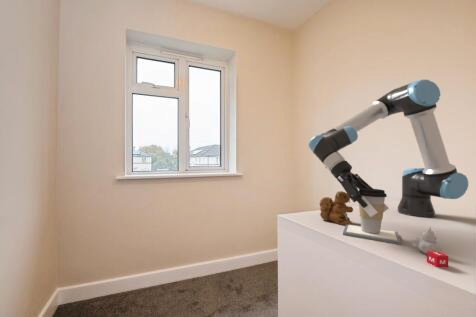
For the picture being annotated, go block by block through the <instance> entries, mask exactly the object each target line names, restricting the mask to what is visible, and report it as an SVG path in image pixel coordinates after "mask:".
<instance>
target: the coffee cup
mask: <svg viewBox="0 0 476 317" xmlns="http://www.w3.org/2000/svg"><path fill="white" fill-rule="evenodd" d="M358 191H359V192H360V194H361V196H362V197H364V198H365V199H366V200H367V201H368V202H369V203H370V204H371V205H372V206H373V207H374V209H375V210H376V211H377V212H378V213H376V214H375V215H373V216H372V217H370V216H369V215H368V214H367V212H366V211H365V210H364V209H363V208H362V207H361V206H360V204H359V203H358V206H359V210H358V211H359V217H360V226H361V229H362V231H364V232H368V233H380V229H381V227H382V221H383V218H384V212H383V211H384V203H385V200H386V198H387V197H388V196H387V193H386V192H385V190H384V189H378V188H373V189H370V188H360V189H358ZM362 197H361V198H362Z"/></svg>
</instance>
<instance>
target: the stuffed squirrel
mask: <svg viewBox="0 0 476 317" xmlns="http://www.w3.org/2000/svg"><path fill="white" fill-rule="evenodd" d="M350 201H351V198H350V197H349V195H348V194H347V192H346V191H336V193H335V195H334V200H333V198H332V197H327V196H326V197H325V196H324V197H322V199H320V201H319V210H320V213H319V216H320V217H321V219H322V220H323V221H326V222H333V223H334V224H337V225H341V226H346V224H347V225H352V223H351V222H350V220H351V219H350V217H349V216H348V213H353V211H354V208H353V206H350V205H349V206H348V205H347V203H350V204H351V202H350Z"/></svg>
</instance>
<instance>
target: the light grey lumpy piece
mask: <svg viewBox="0 0 476 317" xmlns="http://www.w3.org/2000/svg"><path fill="white" fill-rule="evenodd" d="M420 237H421V238H419V237H412V238H411V240H412V246H413V247H414V248H418V249H419V250H420V252H422V253H423V254H425V255H427V251H438V252H440V253H441V252H442V246H441V245H440V244H439V243H437V240H438V237H437V236H436V235H435V233H434V231H432V227H431V226H429V228H428V229H426V230H424V231H423V232H421V234H420Z"/></svg>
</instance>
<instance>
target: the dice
mask: <svg viewBox="0 0 476 317" xmlns="http://www.w3.org/2000/svg"><path fill="white" fill-rule="evenodd" d="M427 262H428V263H427ZM426 263H427V264H429V263H430V264H429V265H431V264H432V265H431V266H433V265H434V266H433V267H435V268H437V267H448V268H449V255H447V254H444V253H443V252H441V251H440V252H438V251H427V254H426Z"/></svg>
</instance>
